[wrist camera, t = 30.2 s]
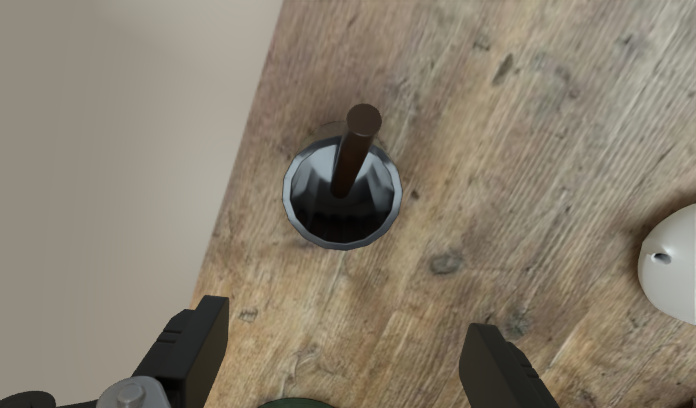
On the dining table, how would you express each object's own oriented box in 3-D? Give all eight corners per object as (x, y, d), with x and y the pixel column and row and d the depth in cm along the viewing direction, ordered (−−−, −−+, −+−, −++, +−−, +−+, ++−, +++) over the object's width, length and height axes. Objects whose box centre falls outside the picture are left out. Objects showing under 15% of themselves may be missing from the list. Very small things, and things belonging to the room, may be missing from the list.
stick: (326, 193, 35) (340, 126, 19) (335, 176, 35) (356, 96, 20) (344, 202, 35) (372, 142, 19) (353, 185, 35) (387, 112, 20)
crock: (292, 204, 37) (278, 243, 28) (300, 114, 34) (287, 128, 26) (379, 214, 37) (391, 256, 29) (394, 127, 35) (411, 144, 26)
